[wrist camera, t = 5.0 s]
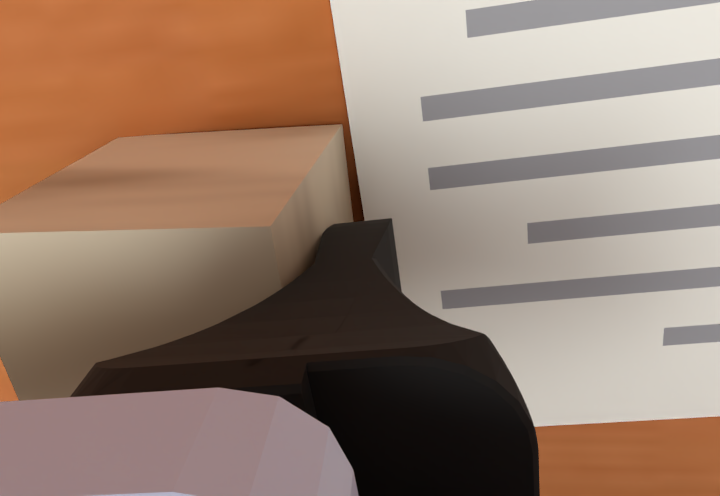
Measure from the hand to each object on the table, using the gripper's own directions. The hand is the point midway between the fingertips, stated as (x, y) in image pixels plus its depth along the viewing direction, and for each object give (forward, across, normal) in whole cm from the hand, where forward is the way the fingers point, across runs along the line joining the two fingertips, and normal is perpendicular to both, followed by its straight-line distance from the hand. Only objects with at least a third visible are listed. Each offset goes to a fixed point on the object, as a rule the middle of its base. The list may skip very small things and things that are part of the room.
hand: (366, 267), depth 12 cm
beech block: (+2, +3, 0) cm, 3 cm away
